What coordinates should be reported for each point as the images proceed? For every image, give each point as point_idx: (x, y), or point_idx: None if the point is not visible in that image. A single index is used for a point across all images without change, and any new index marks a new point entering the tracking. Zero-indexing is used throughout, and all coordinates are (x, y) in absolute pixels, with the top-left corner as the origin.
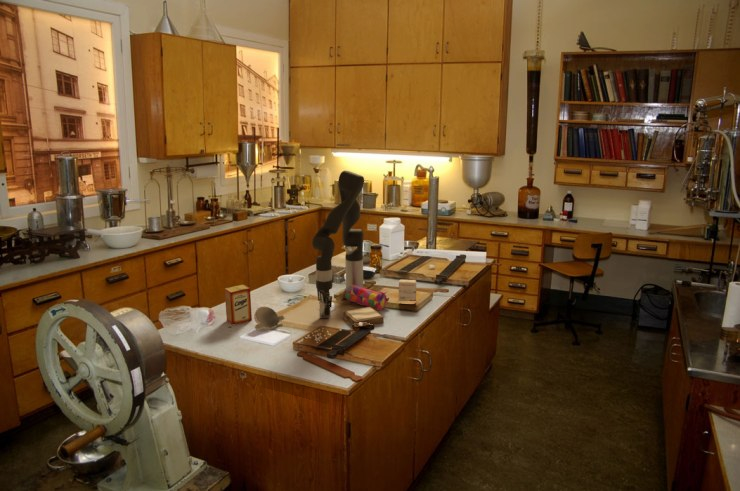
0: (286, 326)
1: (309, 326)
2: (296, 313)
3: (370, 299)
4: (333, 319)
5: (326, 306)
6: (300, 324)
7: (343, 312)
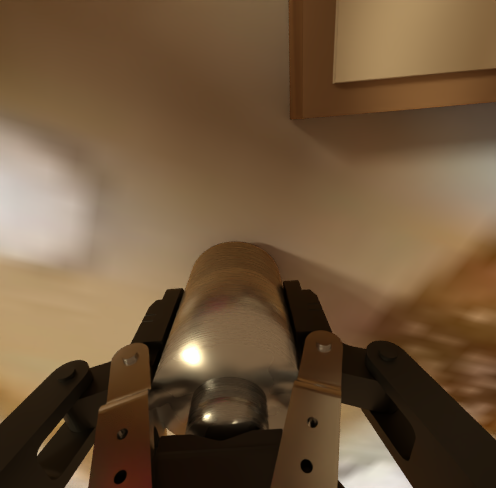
0: None
1: None
2: None
3: None
4: (298, 224)
5: (400, 414)
6: None
7: (301, 118)
